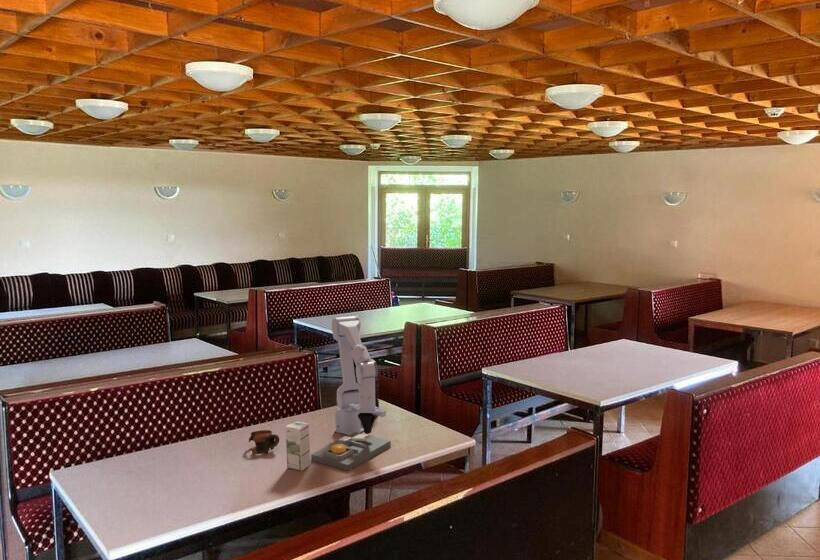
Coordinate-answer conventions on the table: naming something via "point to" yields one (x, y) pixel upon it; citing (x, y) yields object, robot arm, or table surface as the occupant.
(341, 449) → the push button
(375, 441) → the control panel
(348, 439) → the pale beige block
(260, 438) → the pottery mug
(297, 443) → the syrup box
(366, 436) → the plate
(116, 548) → the table surface
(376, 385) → the storage jar
